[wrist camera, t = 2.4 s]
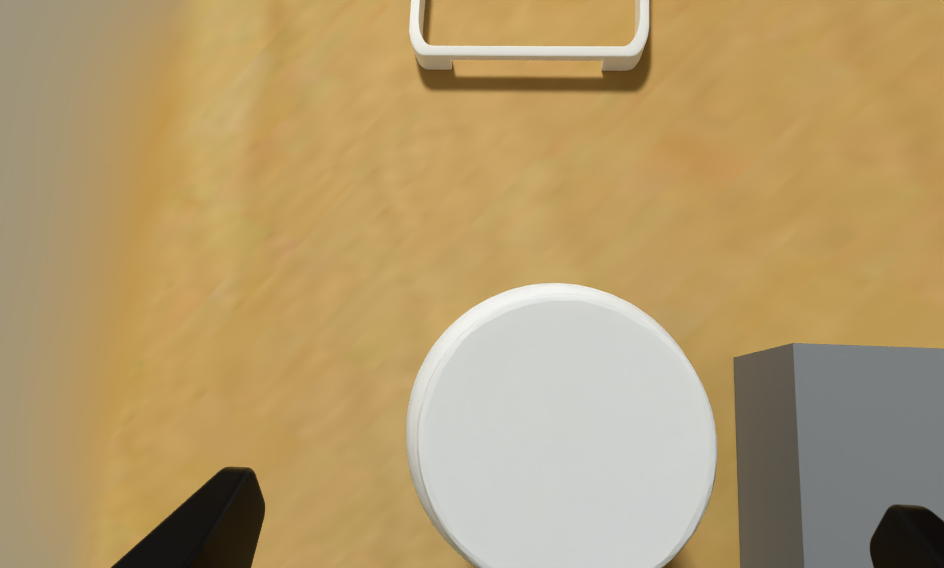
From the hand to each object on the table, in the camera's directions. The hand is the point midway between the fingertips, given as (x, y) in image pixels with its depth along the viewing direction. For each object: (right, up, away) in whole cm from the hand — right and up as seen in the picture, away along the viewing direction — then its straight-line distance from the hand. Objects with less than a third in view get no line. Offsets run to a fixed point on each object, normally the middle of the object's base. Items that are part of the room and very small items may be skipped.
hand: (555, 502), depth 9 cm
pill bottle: (+1, -1, +9) cm, 9 cm away
